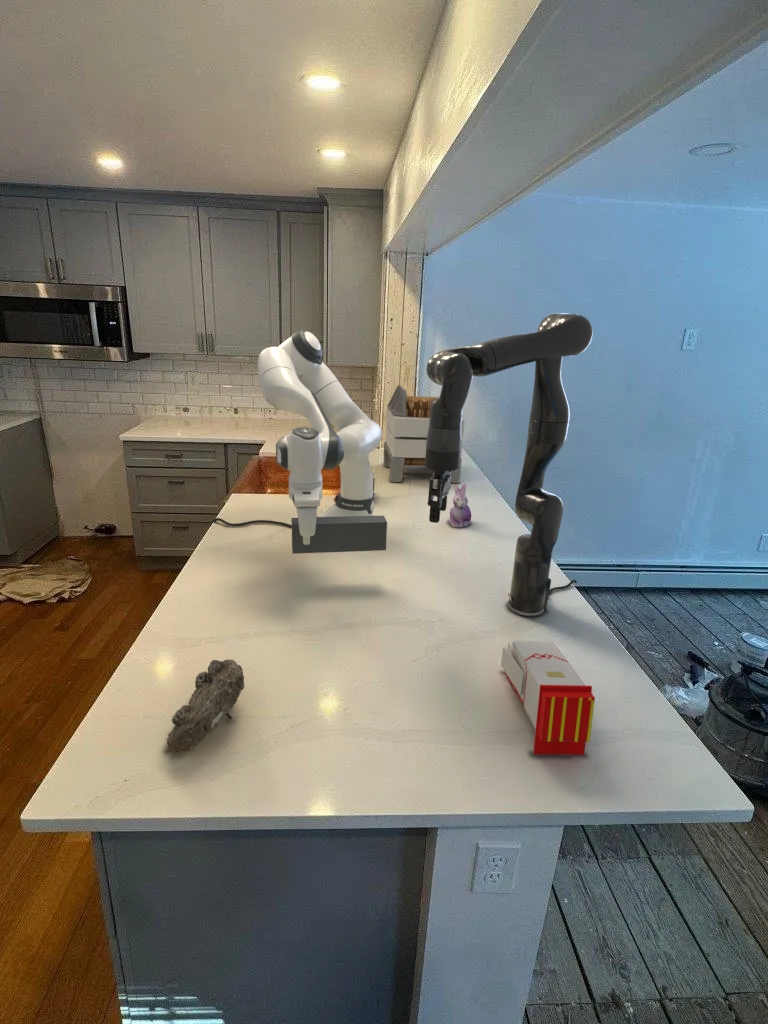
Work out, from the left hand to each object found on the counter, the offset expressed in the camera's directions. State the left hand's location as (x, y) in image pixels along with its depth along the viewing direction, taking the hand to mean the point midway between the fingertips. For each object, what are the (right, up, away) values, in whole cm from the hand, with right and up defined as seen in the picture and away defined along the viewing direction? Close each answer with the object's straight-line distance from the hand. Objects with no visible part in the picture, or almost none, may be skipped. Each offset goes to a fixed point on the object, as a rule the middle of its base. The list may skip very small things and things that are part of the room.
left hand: (305, 538), depth 154 cm
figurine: (+50, +3, +58) cm, 76 cm away
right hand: (+34, +6, -24) cm, 42 cm away
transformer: (+39, +26, +121) cm, 130 cm away
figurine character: (+14, +13, +81) cm, 83 cm away
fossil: (-12, -32, -46) cm, 57 cm away
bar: (+9, -3, +3) cm, 10 cm away
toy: (+52, -32, -39) cm, 73 cm away
